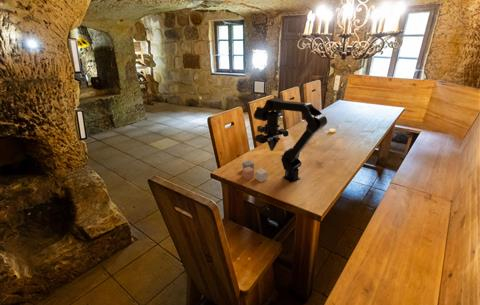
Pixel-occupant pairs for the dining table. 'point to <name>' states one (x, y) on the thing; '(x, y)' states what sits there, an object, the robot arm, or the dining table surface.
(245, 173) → the terracotta cube
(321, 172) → the dining table surface
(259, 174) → the white cube
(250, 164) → the grey cube
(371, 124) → the dining table surface
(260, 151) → the dining table surface
